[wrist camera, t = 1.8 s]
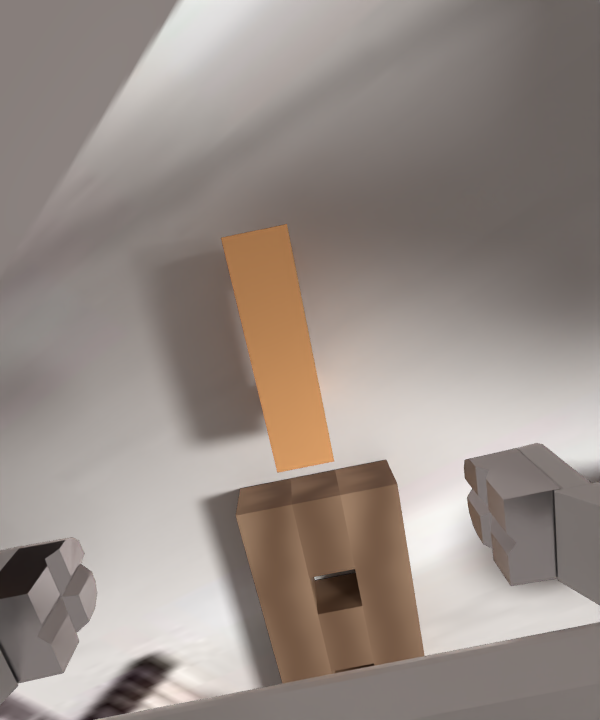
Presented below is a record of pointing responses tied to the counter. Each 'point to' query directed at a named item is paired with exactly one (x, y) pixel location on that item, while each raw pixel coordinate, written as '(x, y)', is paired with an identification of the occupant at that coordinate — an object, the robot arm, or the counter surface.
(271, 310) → the orange piece
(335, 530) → the rail
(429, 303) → the counter surface
